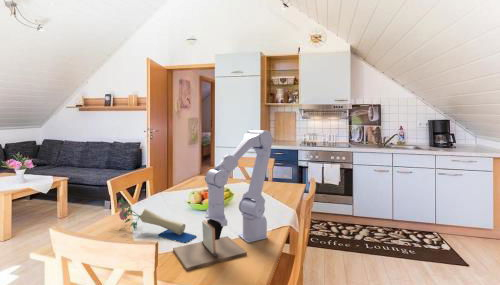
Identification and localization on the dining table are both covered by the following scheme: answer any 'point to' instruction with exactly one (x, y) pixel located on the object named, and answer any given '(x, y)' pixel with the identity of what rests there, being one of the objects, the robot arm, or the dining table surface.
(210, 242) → the tile
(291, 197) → the dining table surface
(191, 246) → the board
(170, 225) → the flower vase
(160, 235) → the blue flat pad
